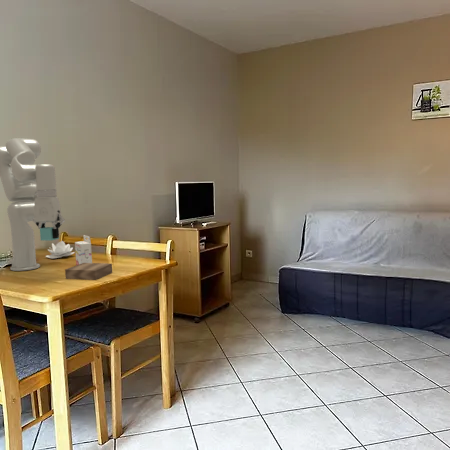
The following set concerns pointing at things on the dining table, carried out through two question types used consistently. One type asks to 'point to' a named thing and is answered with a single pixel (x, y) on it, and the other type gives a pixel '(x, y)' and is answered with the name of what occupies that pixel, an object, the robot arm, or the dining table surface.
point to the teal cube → (47, 234)
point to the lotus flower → (60, 250)
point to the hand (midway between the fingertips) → (49, 237)
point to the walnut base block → (88, 271)
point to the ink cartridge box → (83, 251)
